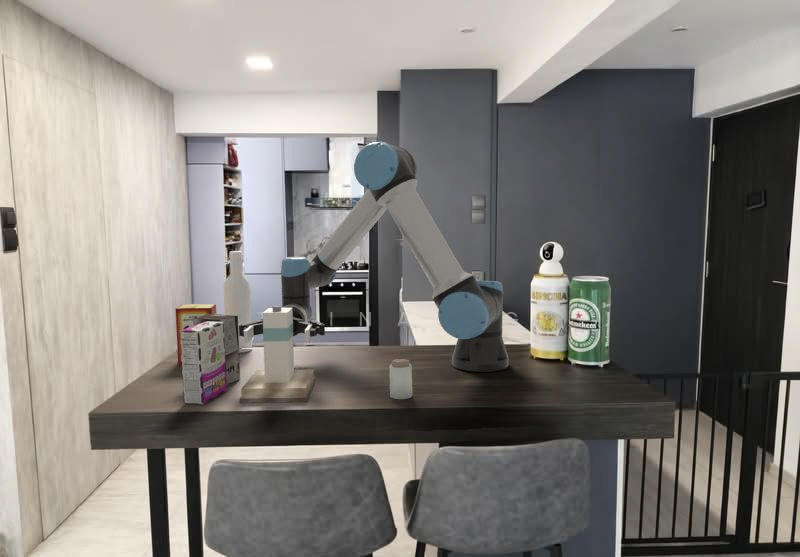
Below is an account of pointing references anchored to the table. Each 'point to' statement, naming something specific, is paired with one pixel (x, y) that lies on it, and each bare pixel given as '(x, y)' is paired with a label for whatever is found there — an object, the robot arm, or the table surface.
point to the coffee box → (227, 342)
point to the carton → (278, 344)
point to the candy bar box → (203, 362)
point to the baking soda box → (190, 319)
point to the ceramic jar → (400, 379)
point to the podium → (278, 388)
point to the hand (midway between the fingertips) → (276, 336)
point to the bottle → (238, 296)
